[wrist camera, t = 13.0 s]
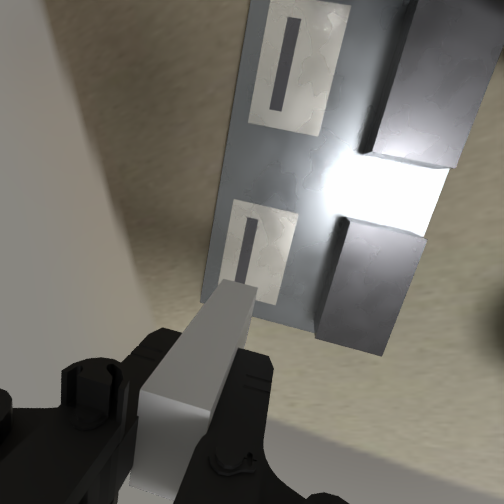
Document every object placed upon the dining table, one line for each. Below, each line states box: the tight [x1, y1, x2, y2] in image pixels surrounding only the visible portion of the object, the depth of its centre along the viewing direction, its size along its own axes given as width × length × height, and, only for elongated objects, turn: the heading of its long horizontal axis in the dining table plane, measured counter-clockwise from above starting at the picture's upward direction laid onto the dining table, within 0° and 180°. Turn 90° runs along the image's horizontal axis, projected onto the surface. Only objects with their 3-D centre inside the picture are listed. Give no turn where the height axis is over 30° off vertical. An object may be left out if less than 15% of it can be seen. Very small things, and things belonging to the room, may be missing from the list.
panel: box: [200, 0, 504, 356], centre depth 18 cm, size 26×14×4 cm, turn 168°
